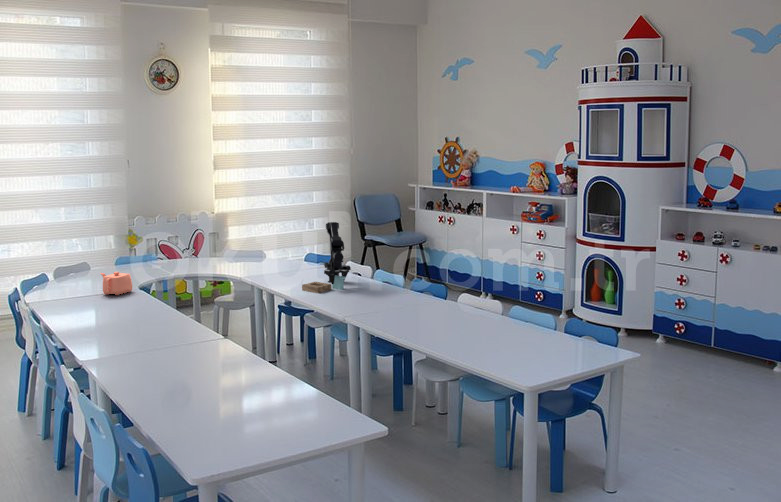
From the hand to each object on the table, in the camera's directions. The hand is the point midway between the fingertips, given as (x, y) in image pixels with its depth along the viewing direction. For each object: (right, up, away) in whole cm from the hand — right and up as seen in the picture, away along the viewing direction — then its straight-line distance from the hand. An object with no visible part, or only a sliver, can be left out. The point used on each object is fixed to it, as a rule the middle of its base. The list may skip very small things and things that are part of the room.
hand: (337, 283), depth 488 cm
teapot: (-142, -7, 0) cm, 142 cm away
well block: (-13, -4, -3) cm, 14 cm away
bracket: (0, -3, +1) cm, 4 cm away
